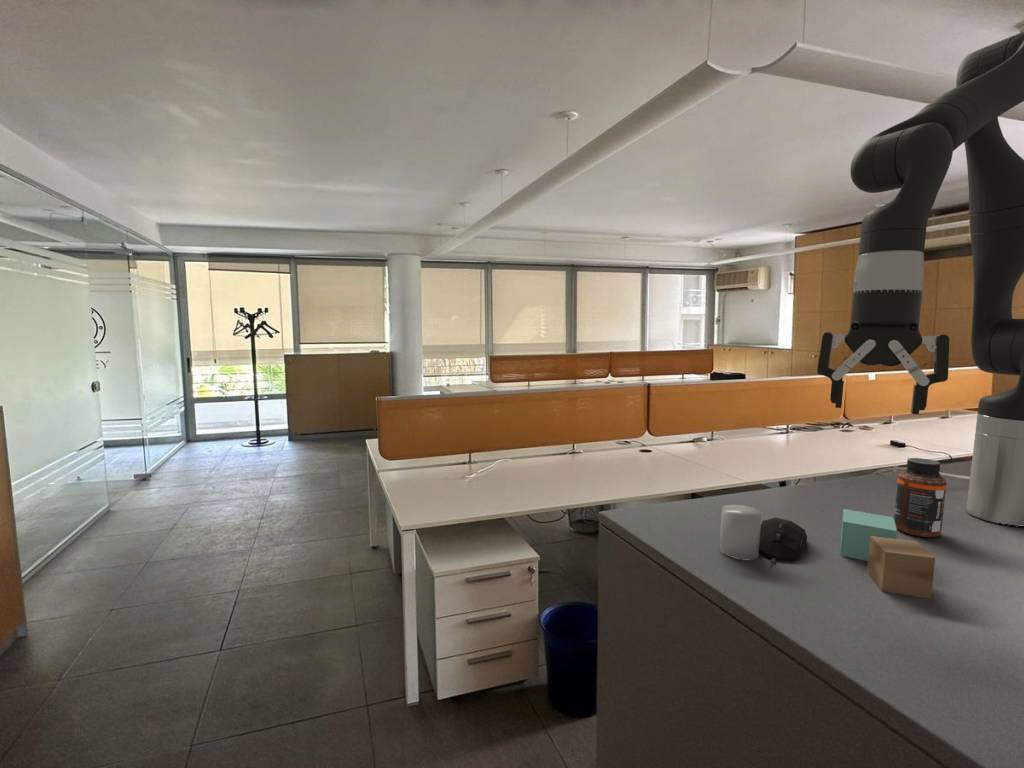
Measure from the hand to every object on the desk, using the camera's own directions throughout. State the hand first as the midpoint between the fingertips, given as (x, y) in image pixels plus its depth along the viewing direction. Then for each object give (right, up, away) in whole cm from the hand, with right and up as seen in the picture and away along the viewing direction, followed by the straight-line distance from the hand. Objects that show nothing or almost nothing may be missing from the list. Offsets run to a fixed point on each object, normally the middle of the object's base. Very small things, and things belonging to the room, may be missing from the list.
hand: (875, 410), depth 71 cm
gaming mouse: (-11, -20, +3) cm, 24 cm away
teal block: (0, -20, +2) cm, 20 cm away
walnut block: (-2, -21, -7) cm, 22 cm away
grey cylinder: (-18, -20, +2) cm, 27 cm away
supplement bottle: (+14, -20, +11) cm, 26 cm away
